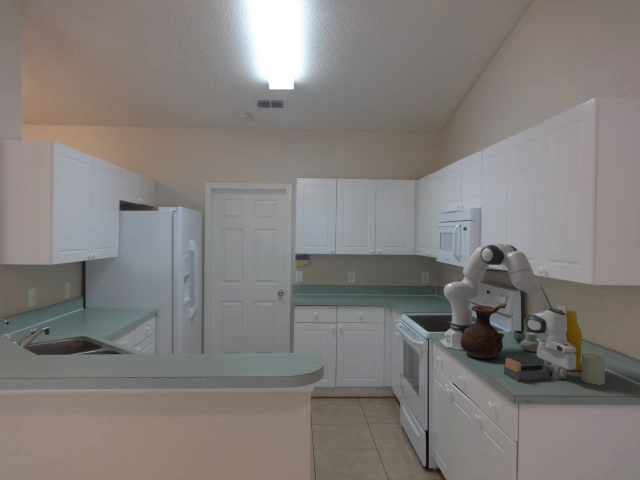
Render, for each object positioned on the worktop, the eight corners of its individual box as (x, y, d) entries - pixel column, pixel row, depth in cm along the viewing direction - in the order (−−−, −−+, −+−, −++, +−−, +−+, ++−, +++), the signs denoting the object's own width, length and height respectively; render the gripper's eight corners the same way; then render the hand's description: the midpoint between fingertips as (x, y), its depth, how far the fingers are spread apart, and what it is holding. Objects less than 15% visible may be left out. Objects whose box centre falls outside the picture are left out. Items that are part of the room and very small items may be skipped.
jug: (475, 363, 207) (476, 305, 206) (453, 350, 228) (454, 298, 227) (512, 361, 211) (513, 304, 210) (487, 349, 232) (488, 297, 231)
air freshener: (524, 352, 227) (525, 335, 227) (517, 348, 236) (518, 331, 235) (544, 352, 227) (544, 335, 227) (536, 348, 235) (536, 331, 235)
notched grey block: (553, 379, 184) (553, 368, 184) (543, 374, 190) (543, 364, 190) (566, 378, 186) (566, 367, 186) (556, 374, 192) (556, 363, 192)
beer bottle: (576, 372, 194) (577, 313, 194) (555, 367, 201) (557, 310, 201) (584, 369, 199) (585, 311, 199) (564, 364, 207) (565, 308, 207)
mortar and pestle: (517, 345, 242) (518, 325, 241) (510, 341, 251) (510, 322, 251) (536, 345, 242) (536, 326, 242) (527, 341, 251) (528, 322, 251)
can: (594, 385, 177) (595, 358, 177) (575, 378, 186) (576, 352, 186) (610, 383, 180) (610, 357, 180) (591, 376, 189) (591, 351, 189)
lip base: (533, 372, 194) (533, 355, 194) (548, 379, 184) (549, 362, 184) (503, 374, 190) (504, 357, 190) (518, 381, 181) (518, 364, 181)
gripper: (533, 338, 197) (533, 366, 198) (567, 350, 177) (566, 381, 178) (544, 338, 199) (544, 365, 199) (579, 349, 179) (578, 380, 179)
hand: (555, 373), depth 188 cm, fingers closed on notched grey block, 6 cm apart
